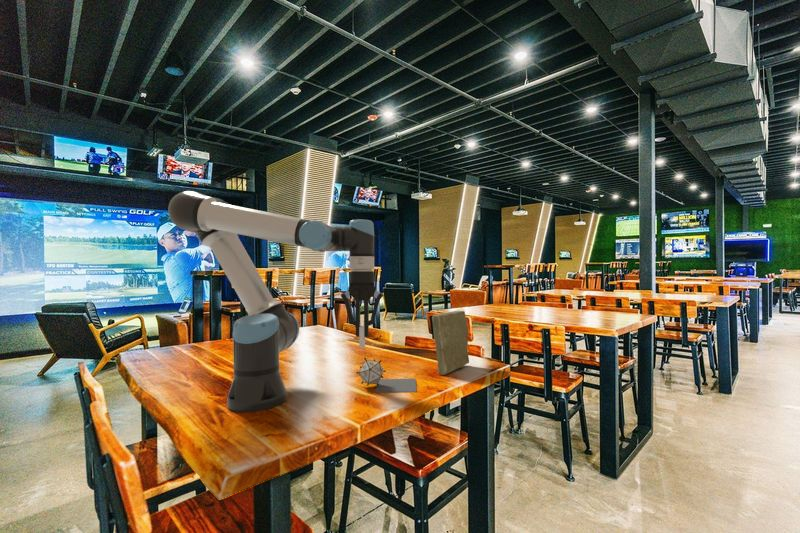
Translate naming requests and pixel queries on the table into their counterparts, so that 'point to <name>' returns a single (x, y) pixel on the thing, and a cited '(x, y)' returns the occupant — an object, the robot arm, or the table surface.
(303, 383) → the table surface
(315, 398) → the table surface
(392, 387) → the mat
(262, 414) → the table surface
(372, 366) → the game die
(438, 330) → the decorative tile
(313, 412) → the table surface
